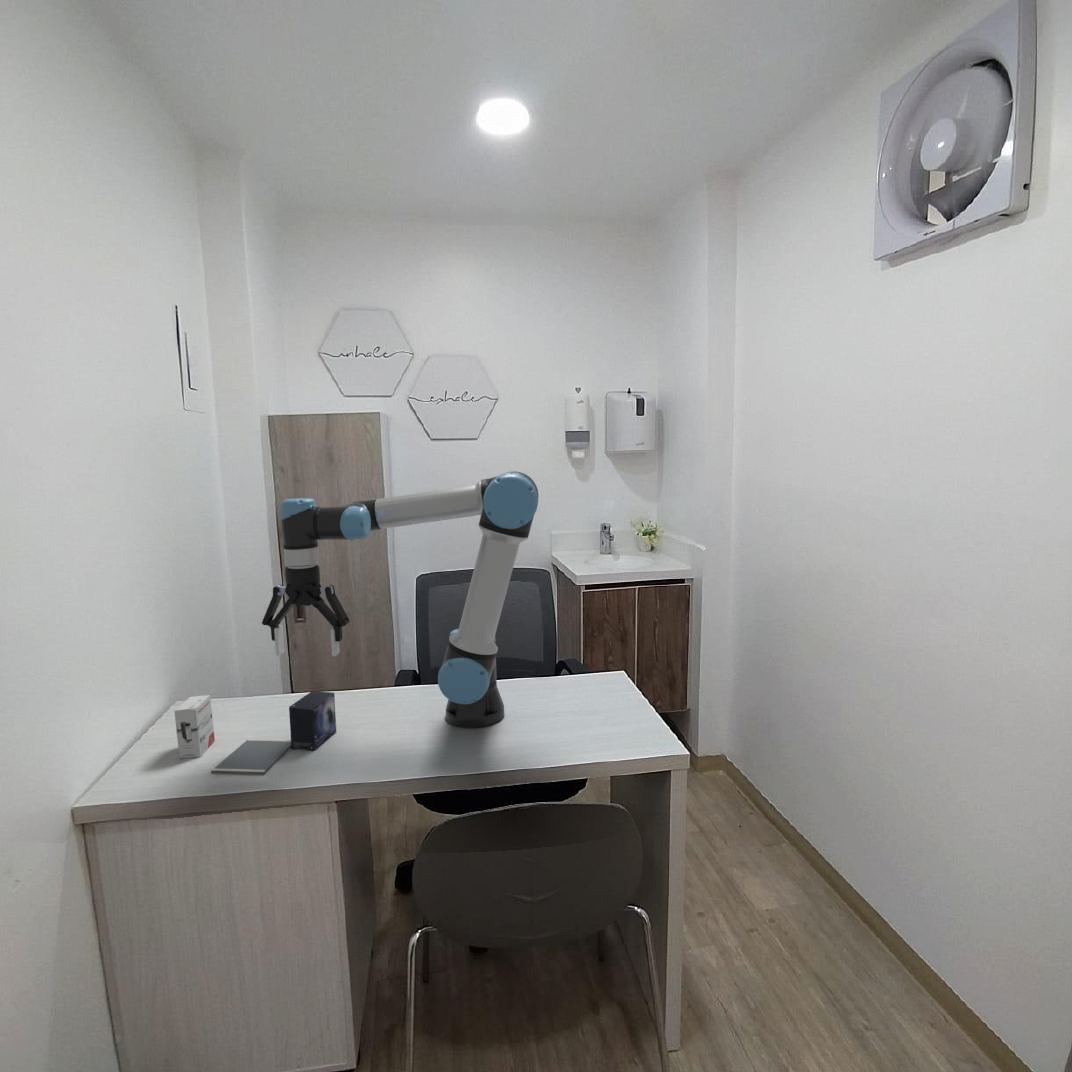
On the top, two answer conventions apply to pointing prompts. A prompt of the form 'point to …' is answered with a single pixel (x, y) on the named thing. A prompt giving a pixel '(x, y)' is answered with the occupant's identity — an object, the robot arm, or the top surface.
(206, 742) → the ink box
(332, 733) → the small box
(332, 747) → the top surface
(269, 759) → the mat
